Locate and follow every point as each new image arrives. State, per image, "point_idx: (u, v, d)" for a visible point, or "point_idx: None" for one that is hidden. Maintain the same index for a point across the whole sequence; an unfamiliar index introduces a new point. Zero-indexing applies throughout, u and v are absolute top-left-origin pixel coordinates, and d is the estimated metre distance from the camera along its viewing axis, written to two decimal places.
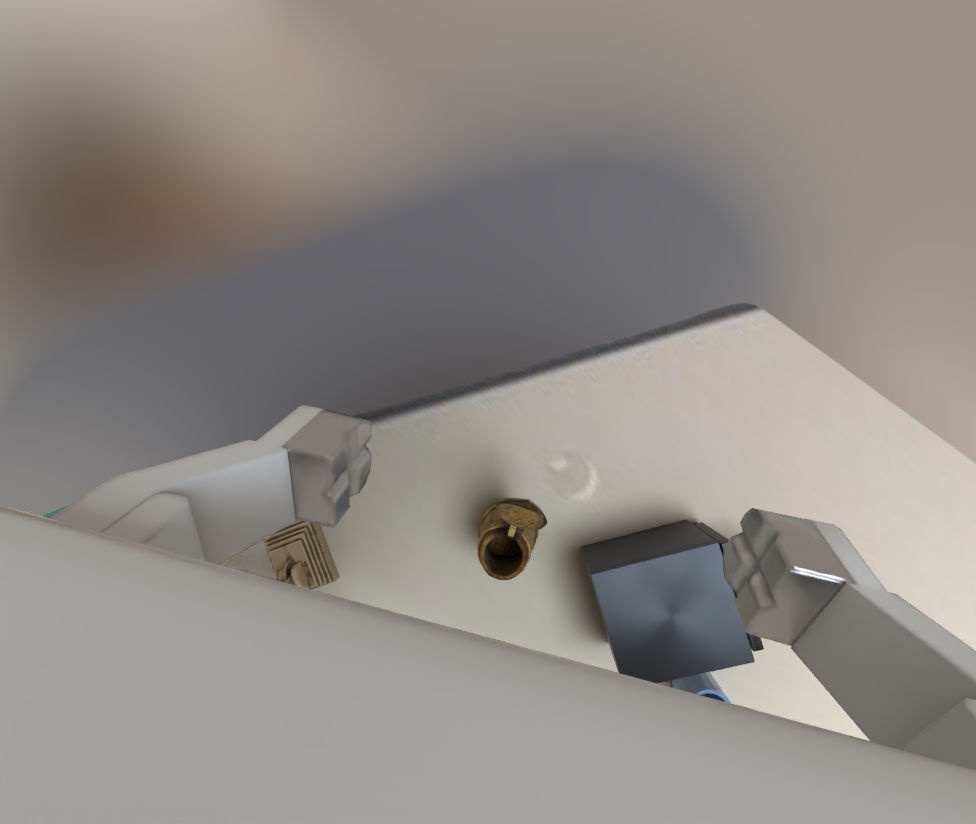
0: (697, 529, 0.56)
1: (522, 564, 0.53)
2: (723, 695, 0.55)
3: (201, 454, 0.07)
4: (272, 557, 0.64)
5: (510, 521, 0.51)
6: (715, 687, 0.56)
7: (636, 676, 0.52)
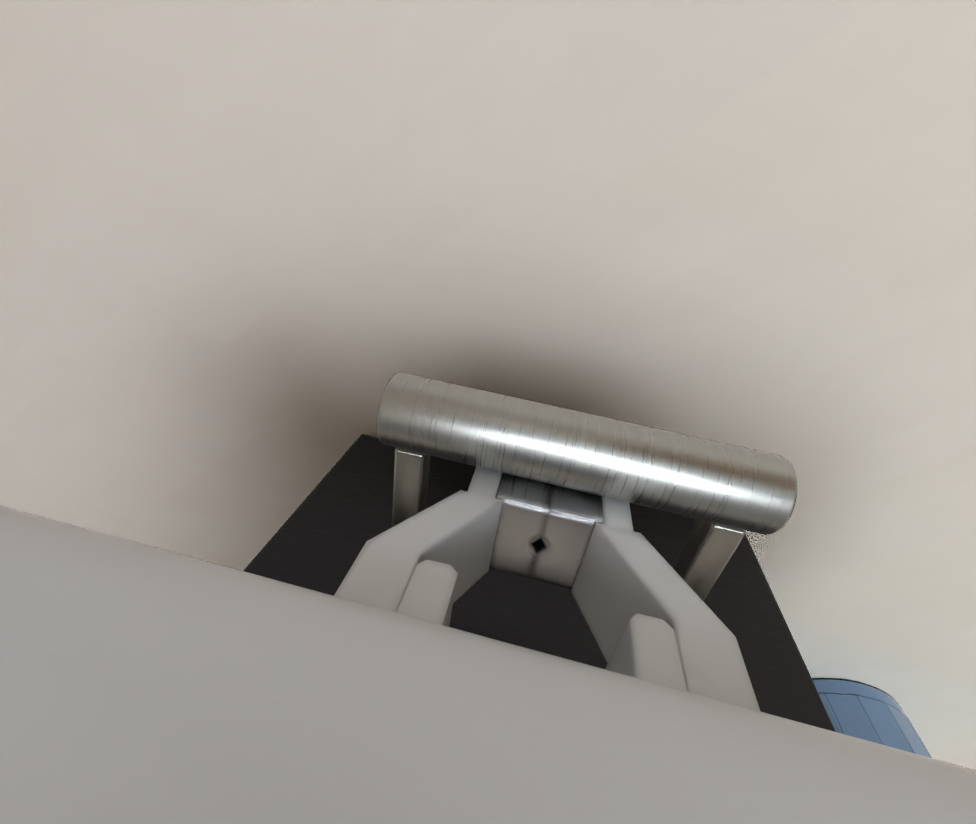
0: None
1: None
2: None
3: (429, 510, 0.07)
4: None
5: None
6: None
7: None
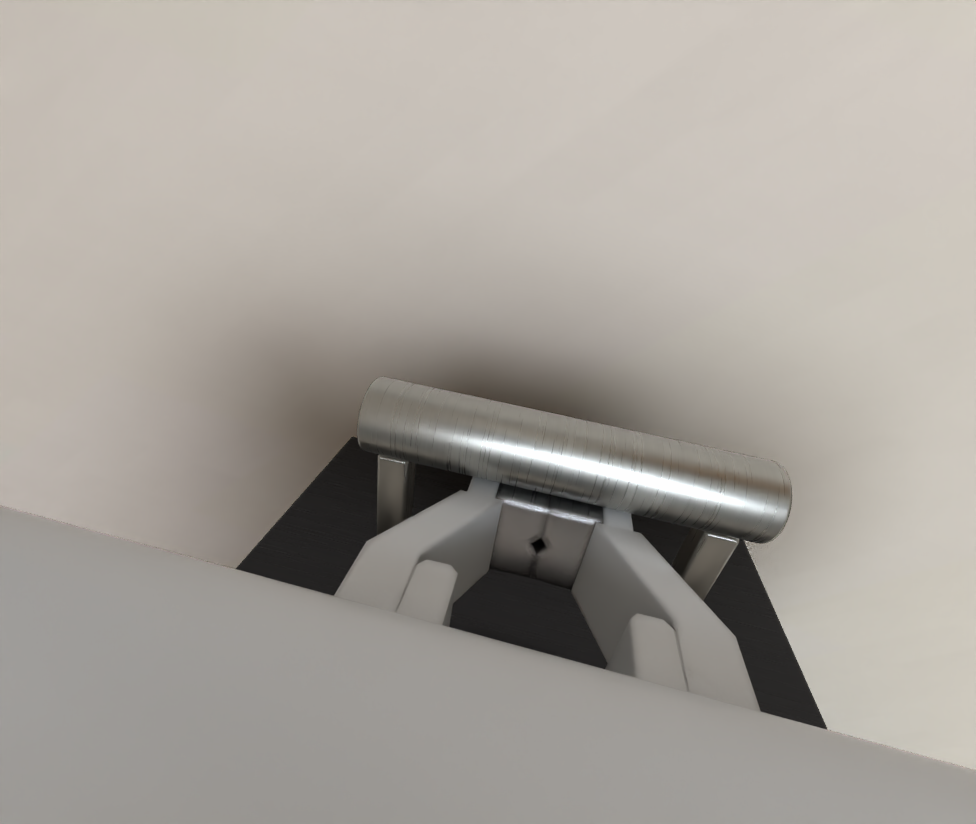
0: None
1: None
2: None
3: (428, 510, 0.07)
4: None
5: None
6: None
7: None
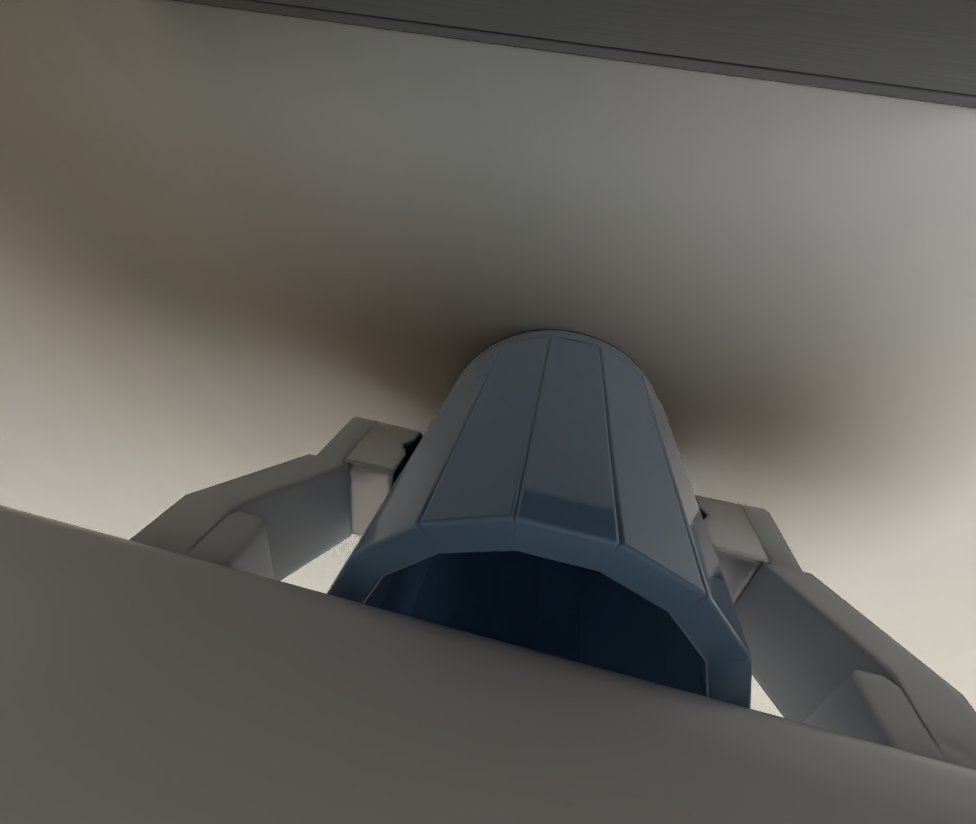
0: None
1: None
2: (736, 651, 0.05)
3: (266, 470, 0.07)
4: None
5: None
6: (697, 548, 0.05)
7: None
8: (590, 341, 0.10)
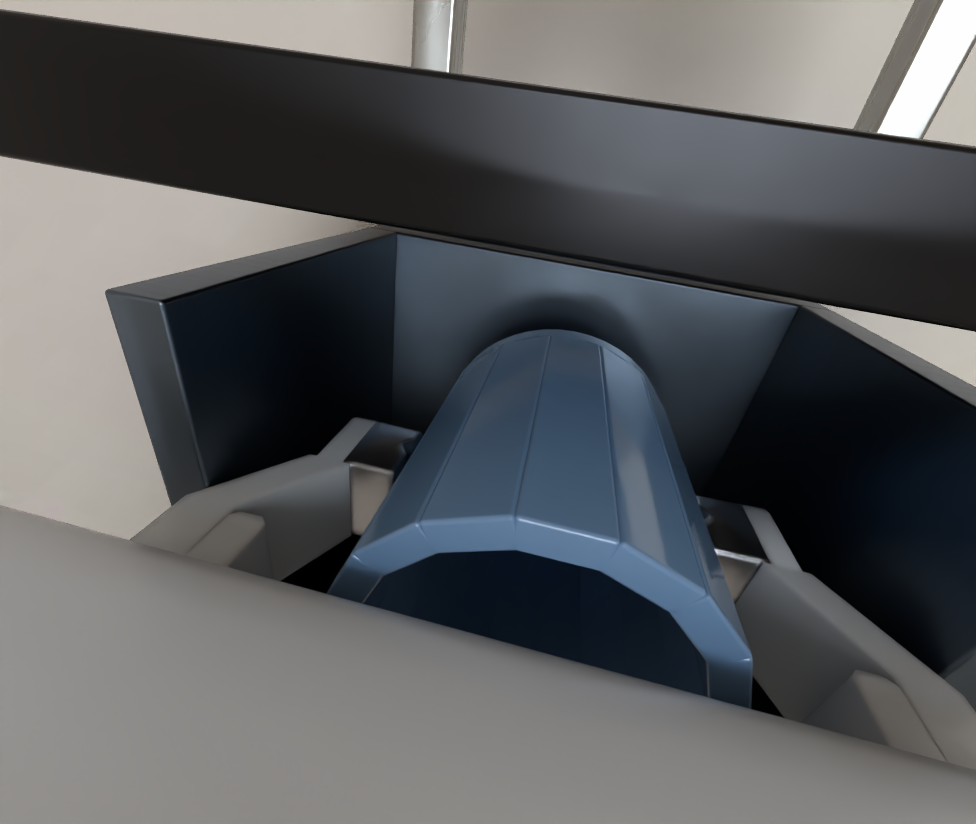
0: None
1: None
2: (737, 651, 0.05)
3: (266, 470, 0.07)
4: None
5: None
6: (697, 547, 0.05)
7: None
8: (590, 341, 0.10)
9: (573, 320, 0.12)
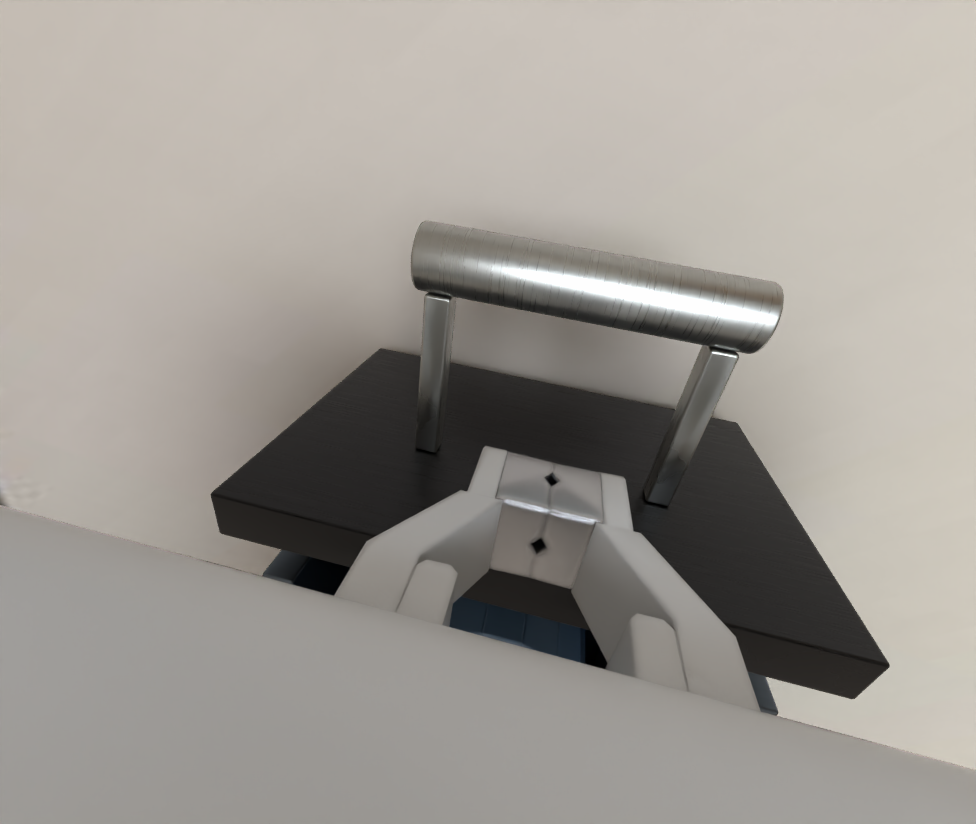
0: None
1: None
2: None
3: (429, 510, 0.07)
4: None
5: None
6: (561, 638, 0.12)
7: None
8: None
9: None
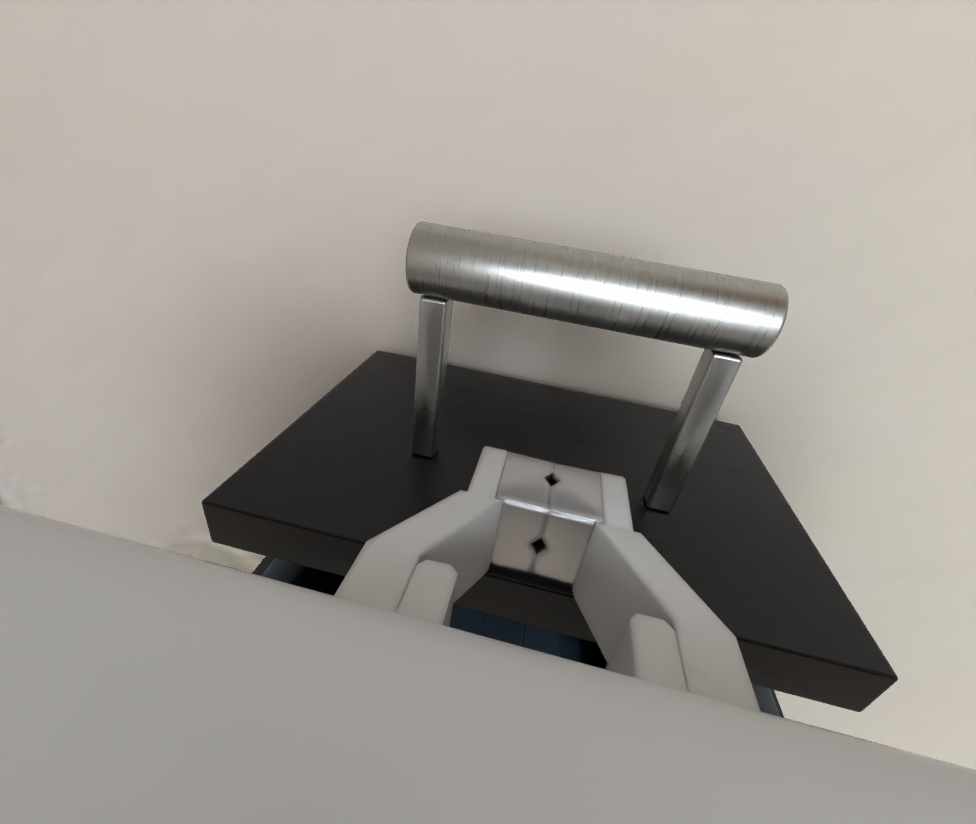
0: None
1: None
2: None
3: (429, 510, 0.07)
4: None
5: None
6: (561, 646, 0.12)
7: None
8: None
9: None
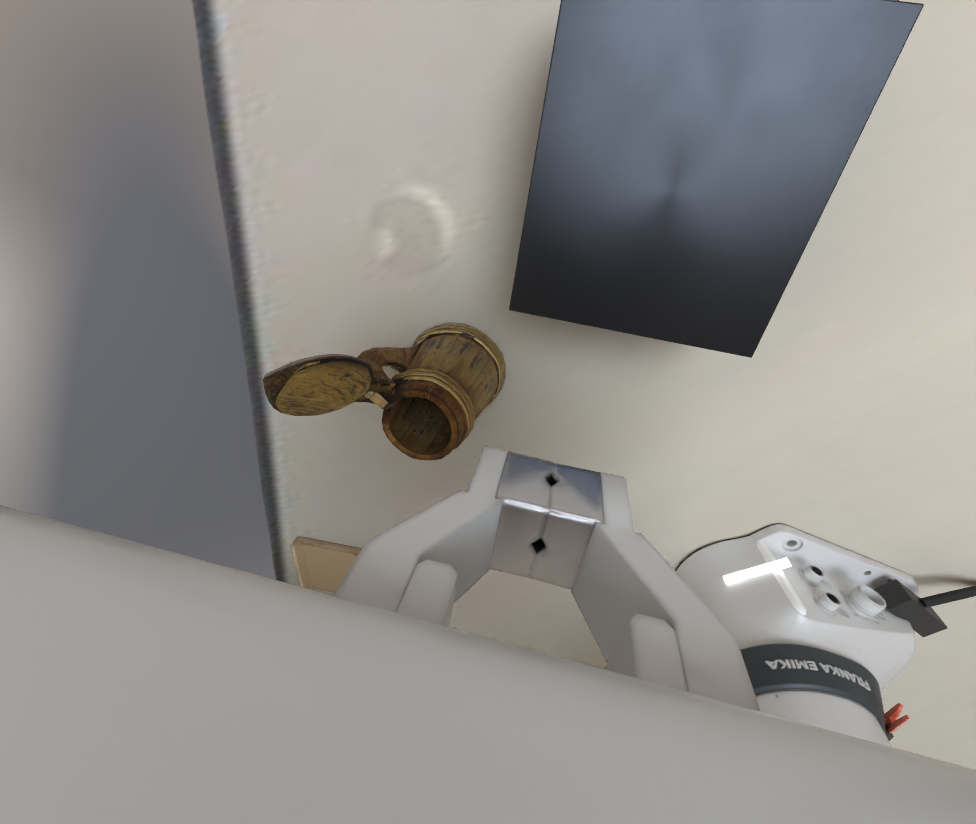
0: None
1: (442, 408, 0.30)
2: None
3: (429, 510, 0.07)
4: None
5: (349, 399, 0.29)
6: None
7: (741, 323, 0.24)
8: None
9: None
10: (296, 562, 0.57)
